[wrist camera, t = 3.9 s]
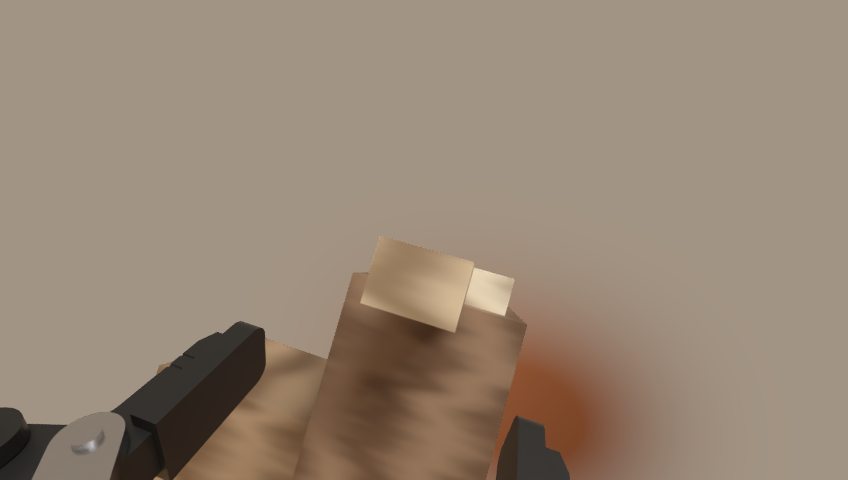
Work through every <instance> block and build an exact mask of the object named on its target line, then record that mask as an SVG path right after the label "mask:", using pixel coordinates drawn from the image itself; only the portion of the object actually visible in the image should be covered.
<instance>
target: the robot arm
mask: <svg viewBox="0 0 848 480" xmlns="http://www.w3.org/2000/svg"><path fill="white" fill-rule="evenodd" d="M265 366H266V350H265V331H264V329H262V328H260V327H257V326H254V325H251V324H248V323H245V322H242V321H239V322H237V323H235V324H234V325H233V326H231V327H230V328H229V329H228V330H227V331H226V332H224V333H223V334H222V333H219V332H217V333H214V334H212V335H210V336H208V337H206V338H204V339H201V340H199V341H198V342H196V343H195V344H194V345H193V346H192V347H190V348H189V349H188V350H187V351H185V352H184V353H183V355H182V356H179V357H178V358H177V359H176V360H175V361H173V362H172V363H171V364H170V366H169V367H168V366H167V367H166V368H165V369H163V370H162V371H161V372H160V373H158V374H157V375H156V376H155V377H154V378H152V379H151V380H150V381H149V382H147V383H146V384H145V385H144V386H143V387H141V388H140V389H139V390H138V391H136V392H135V393H134V394H133V395H132V396H130V397H129V398H128V399H127V400H125V401H124V402H123V403H122V404H121V405H119V406H118V407H117V408H115V409H114V410H112V411H111V412H99V413H94V414H90V415H88V416H84V417H82V418H80V419H77V420H76V421H74V422H72V423H70V424H69V425H49V424H48V425H47V424H27V423H26V421H25V420H24V417H23V415H22V414H21V412H20V411H19V410H16V409H14V408H0V480H153V479H154V478H155V477H159V478H161V479H163V480H173V479H174V478H175V477H176V476H177V475H178V473H179V472H180V471H181V470H182V469H183V468H184V467H185V465H186V464H187V463H188V462H189V461H190V460H191V458H192V457H193V456H194V455H195V454H196V453H197V452H198V450H199V449H200V448H201V447H202V446H203V445H204V444H205V442H206V441H207V440H208V439H209V438H210V437H211V436H212V434H213V433H214V432H215V431H216V430H217V429H218V427H219V426H220V425H221V424H222V423H223V422H224V421H225V419H226V418H227V417H228V416H229V415H230V414H231V413H232V411H233V410H234V409H235V408H236V407H237V406H238V405H239V403H240V402H241V401H242V400H243V399H244V398H245V396H246V395H247V394H248V393H249V392H250V391H251V390H252V388H253V387H254V386H255V385H256V384H257V383H258V381H259V380H260V378H261V377H262V375H263V372H264V370H265ZM496 480H570V477H569V472H568V470H567V468H566V466H565V464H564V461H563V459H562V457H561V455H560V453H559V452H557V451H554V450H551V449H549V448H546V447H545V429H544V426H543V425H542V424H540V423H537V422H534V421H531V420H528V419H525V418H522V417H519V416H516V417H515V419H514V421H513V423H512V426H511V428H510V430H509V432H508V435H507V437H506V439H505V442H504V444H503V446H502V449H501V452H500V456H499V460H498V466H497V476H496Z"/></svg>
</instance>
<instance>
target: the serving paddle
mask: <svg viewBox="0 0 848 480" xmlns="http://www.w3.org/2000/svg"><path fill="white" fill-rule="evenodd" d="M514 280H515V279H512V278H508V277H505V276H502V275H498V274H494V273H491V272H487V271H484V270H480V269H477V268H474V262H471V261H468V260H464V259H461V258H457V257H454V256H450V255H446V254H443V253H439V252H436V251H432V250H429V249H425V248H422V247H418V246H414V245H411V244H407V243H404V242H400V241H396V240H393V239H389V238H386V237H382V236H380V237H379V240H378V244H377V247H376V250H375V254H374V257H373V261H372V264H371V268H370V271H369V274H368V278H367V281H366V285H365V288H364V292H363V295H362V298H361V302H360V303H362V304H365V305H368V306H371V307H374V308H378V309H381V310H384V311H387V312H390V313H393V314H397V315H400V316H403V317H406V318H409V319H413V320H416V321H419V322H422V323H425V324H428V325H432V326H435V327H438V328H441V329H444V330H448V331H451V332H454V333H455V331H456V328H457V324H458V321H459V318H460V315H461V312H462V309H463V306H464V304H466V305H470V306H473V307H476V308H480V309H483V310H486V311H490V312H493V313H496V314H500V315H503V316H505V313H506V310H507V306H508V302H509V299H510V295H511V291H512V287H513V283H514Z"/></svg>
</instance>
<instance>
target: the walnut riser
mask: <svg viewBox="0 0 848 480" xmlns="http://www.w3.org/2000/svg"><path fill="white" fill-rule="evenodd" d="M368 274H369V273H353V275H352V278H351V282H350V285H349V288H348V292H347V295H346V298H345V302H344V306H343V309H342V312H341V315H340V319H339V322H338V326H337V329H336V332H335V336H334V339H333V342H332V346H331V350H330V353H329V356H328V359H324V358H321V357H318V356H315V355H312V354H310V353H306V352H304V351H301V350H298V349H295V348H292V347H289V346H286V345H284V344H281V343H278V342H274V341H272V340H269V339H266V338H265V350H266V366H265V370H264V372H263V375H262V377H261V378H260V380H259V381H258V383H257V384H256V385H255V386H254V387H253V388H252V390H251V391H250V392H249V393H248V394H247V395H246V396H245V398H244V399H243V400H242V401H241V402H240V403H239V405H238V406H237V407H236V408H235V409H234V410H233V411H232V413H231V414H230V415H229V416H228V417H227V418H226V419H225V421H224V422H223V423H222V424H221V425H220V426H219V427H218V429H217V430H216V431H215V432H214V433H213V434H212V436H211V437H210V438H209V439H208V440H207V441H206V442H205V444H204V445H203V446H202V447H201V448H200V449H199V450H198V452H197V453H196V454H195V455H194V456H193V457H192V458H191V460H190V461H189V462H188V463H187V464H186V465H185V467H184V468H183V469H182V470H181V471H180V472H179V473H178V475H177V476H176V477H175V478H174V479H173V480H486V477H487V473H488V469H489V465H490V462H491V458H492V454H493V450H494V447H495V443H496V439H497V435H498V432H499V428H500V424H501V421H502V417H503V413H504V409H505V406H506V402H507V398H508V394H509V391H510V387H511V383H512V379H513V376H514V372H515V368H516V364H517V361H518V357H519V353H520V350H521V346H522V342H523V338H524V335H525V331H526V327H527V324H526V323H524V322H523V321H522V320H521V319H520V318H519V317H518V316H517V315H516V314H515V313H514V312H513V311H512V310H511V309H510V308H509V307H507V310H506V313H505V316H503V315H500V314H496V313H493V312H490V311H486V310H483V309H480V308H476V307H473V306H470V305H466V304H464V306H463V309H462V312H461V315H460V318H459V321H458V324H457V328H456V331H455V333H454V332H451V331H448V330H444V329H441V328H438V327H435V326H432V325H428V324H425V323H422V322H419V321H416V320H413V319H409V318H406V317H403V316H400V315H397V314H393V313H390V312H387V311H384V310H381V309H378V308H374V307H371V306H368V305H365V304H362V303H360V302H361V298H362V295H363V292H364V288H365V285H366V281H367V278H368ZM171 363H172V362H170V363H167V364H163V365H160V366H159V368H158V371H157V374H158V373H160V372H161V371H162V370H163V369H165V368H166V367H167V366H168V367H169V366H170V364H171ZM157 374H156V375H157ZM153 480H163V479H161V478H159V477H155V478H154V479H153Z"/></svg>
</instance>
